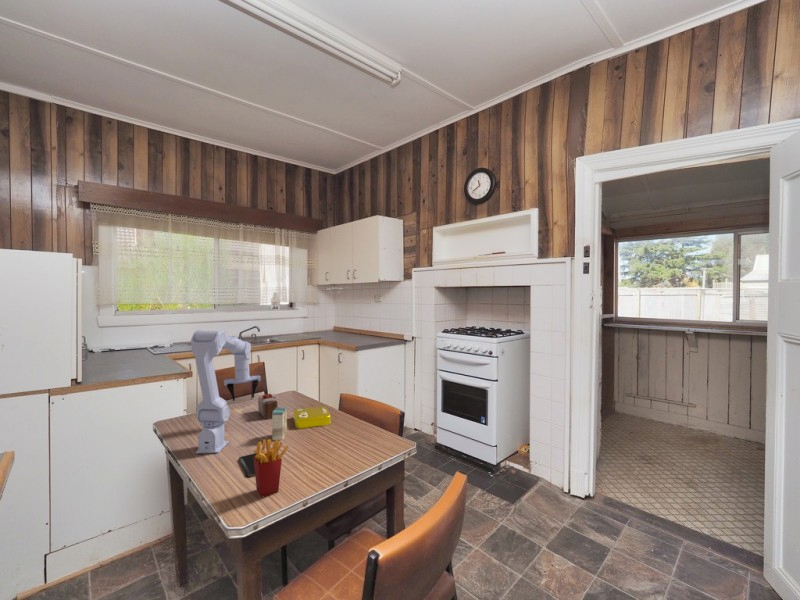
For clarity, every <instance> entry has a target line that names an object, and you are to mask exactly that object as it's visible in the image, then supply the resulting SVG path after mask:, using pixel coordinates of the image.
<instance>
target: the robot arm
mask: <svg viewBox="0 0 800 600" xmlns="http://www.w3.org/2000/svg"><path fill="white" fill-rule="evenodd" d="M190 339H191V340H190V344H191V351H192V356H194V358H195V365H196V370H197V371H196V372H197V376H198V381H199V387H200V390H201V395H202V400H201V401H200V402H199V403H198V404H197V406H196V409H197V411H196V419H197V421H198V423H200V426H202V428H201V431H200V432H199V434H198V438H197V439H198V440H197V441H198V442H197V443H198V444H197V445H198V448H197V450H196V451H195V454H218V453H220V452H221V451H222V450H223V448H224V447H225V446H226V445H228V443H229V440H225V423H226V422H227V421H228V419H229V418H230V415H231V410H230V409H231V408H230V407H229V406H228V402H227V400H225V399H224V398H222V397H220V394H219V387H218V381H217V376H216V369H215V365H214V358H215V357H217V356H219V354H220V353H221V351H222V349H223V347H224V348H225V350H227V351H230V352H231V355H234V357H233V359H234V376H235V377H233V378H229V379H223V385H224V386H226V388H227V389H228V392H229V393H230V395H231V398H232V401H233V402H235V401H236V400H235V391H234V388H235V387H234V385H236V384H237V385H238V384H243V383H244V384H245V383H250V382H251V398H252V399H254V397H255V393H256V389H257V387H258V385H259V382H260V381H261V375H250V358H251V351H252V346H251V343H250V342H248V341H243V340H242V339H240V338H238V337H237V336H236V335H232V336H229V335H227V334H226V331H223V330H197V329H196V331H194V332H193V334H192V335H191V338H190Z"/></svg>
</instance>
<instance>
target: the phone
mask: <svg viewBox="0 0 800 600" xmlns="http://www.w3.org/2000/svg"><path fill="white" fill-rule="evenodd" d="M260 453H261V451H260ZM254 456H256V453H255V452H253V453H250V454H246V455H242V456H239V458H238V462H239V464H240V466H241V467H242V469H243V471H244V473H245V476H246V477H247V478H249V479H250V478H255V468H254V459H253V457H254Z"/></svg>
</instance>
